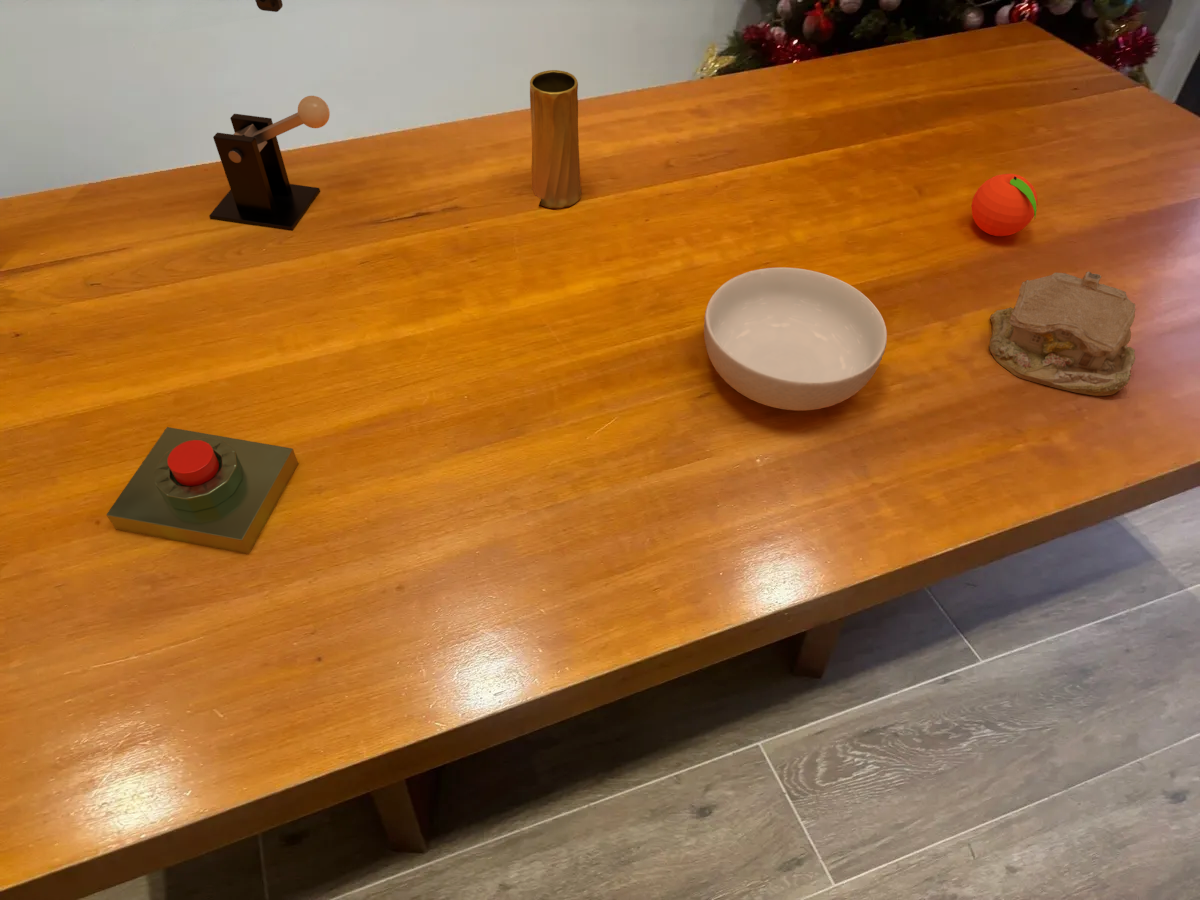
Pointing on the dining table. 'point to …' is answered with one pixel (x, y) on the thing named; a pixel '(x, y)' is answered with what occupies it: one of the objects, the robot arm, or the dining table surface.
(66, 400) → the dining table surface
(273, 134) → the lever
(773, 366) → the cereal bowl
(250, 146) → the bracket
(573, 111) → the vase
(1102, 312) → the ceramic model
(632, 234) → the dining table surface
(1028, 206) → the clementine
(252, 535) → the button box
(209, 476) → the button
